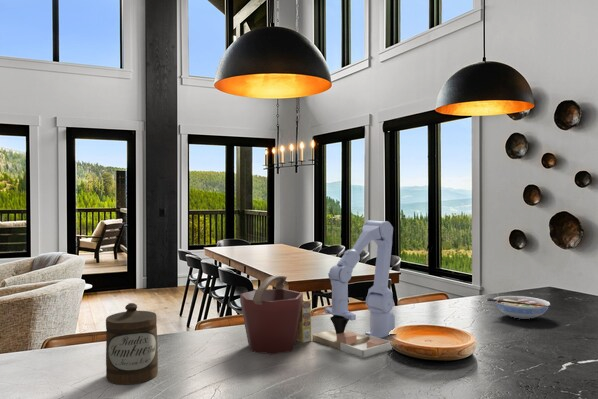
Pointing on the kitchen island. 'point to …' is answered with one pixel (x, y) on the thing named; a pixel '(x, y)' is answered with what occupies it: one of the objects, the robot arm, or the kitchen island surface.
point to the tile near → (375, 342)
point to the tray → (362, 348)
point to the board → (331, 338)
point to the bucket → (271, 316)
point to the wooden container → (131, 346)
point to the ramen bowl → (521, 306)
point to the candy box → (304, 322)
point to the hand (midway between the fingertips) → (339, 336)
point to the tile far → (346, 337)
